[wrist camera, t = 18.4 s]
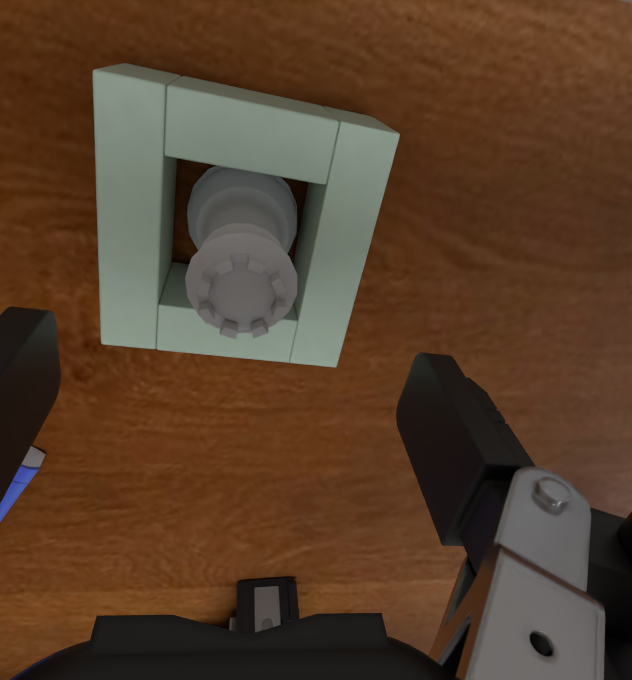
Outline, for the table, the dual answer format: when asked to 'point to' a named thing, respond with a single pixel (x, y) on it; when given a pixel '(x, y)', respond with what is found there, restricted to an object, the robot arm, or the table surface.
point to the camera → (264, 604)
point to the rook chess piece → (241, 250)
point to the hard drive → (21, 479)
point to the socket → (239, 153)
